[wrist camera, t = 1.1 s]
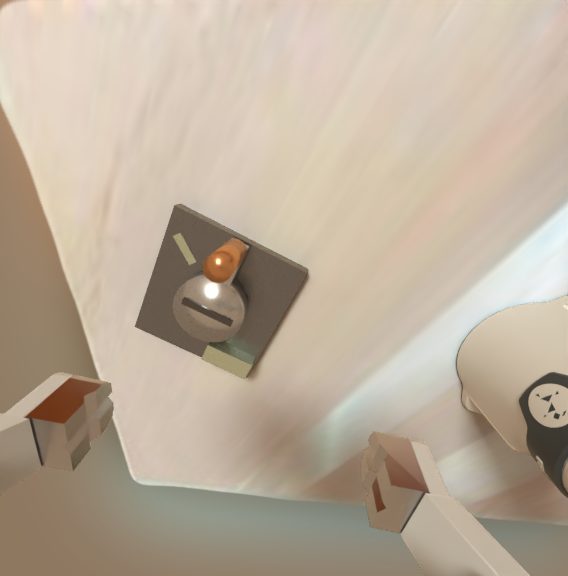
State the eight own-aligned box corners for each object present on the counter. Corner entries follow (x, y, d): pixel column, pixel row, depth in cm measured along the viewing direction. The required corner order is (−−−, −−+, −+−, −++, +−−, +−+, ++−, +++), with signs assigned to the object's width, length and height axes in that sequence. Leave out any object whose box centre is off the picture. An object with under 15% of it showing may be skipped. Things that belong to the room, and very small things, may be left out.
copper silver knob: (278, 251, 31) (267, 279, 23) (232, 341, 36) (210, 388, 28) (211, 217, 30) (175, 233, 22) (173, 313, 35) (134, 354, 27)
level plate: (307, 268, 33) (307, 278, 30) (249, 370, 39) (244, 387, 36) (180, 203, 31) (166, 207, 28) (141, 321, 38) (126, 334, 35)
